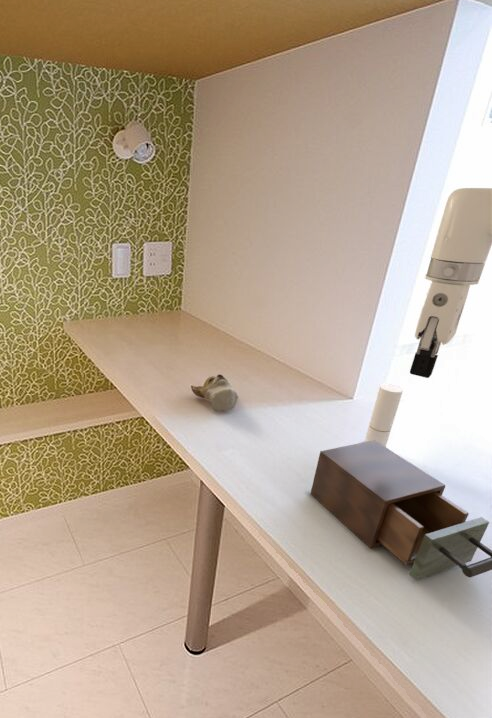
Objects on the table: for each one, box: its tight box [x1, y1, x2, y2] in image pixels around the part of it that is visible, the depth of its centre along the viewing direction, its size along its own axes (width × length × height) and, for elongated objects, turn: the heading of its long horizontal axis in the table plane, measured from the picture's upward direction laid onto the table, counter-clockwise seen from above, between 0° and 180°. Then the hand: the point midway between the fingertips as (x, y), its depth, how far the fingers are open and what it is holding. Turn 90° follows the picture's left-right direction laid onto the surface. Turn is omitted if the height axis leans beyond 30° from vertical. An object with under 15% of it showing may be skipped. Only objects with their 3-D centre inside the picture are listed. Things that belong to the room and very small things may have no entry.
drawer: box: [377, 492, 492, 581], centre depth 67 cm, size 18×11×8 cm, turn 20°
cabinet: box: [310, 440, 446, 549], centre depth 76 cm, size 15×13×10 cm
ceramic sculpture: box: [190, 374, 239, 413], centre depth 115 cm, size 11×9×15 cm
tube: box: [364, 383, 404, 448], centre depth 94 cm, size 4×4×15 cm
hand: (420, 374), depth 79 cm, fingers closed
